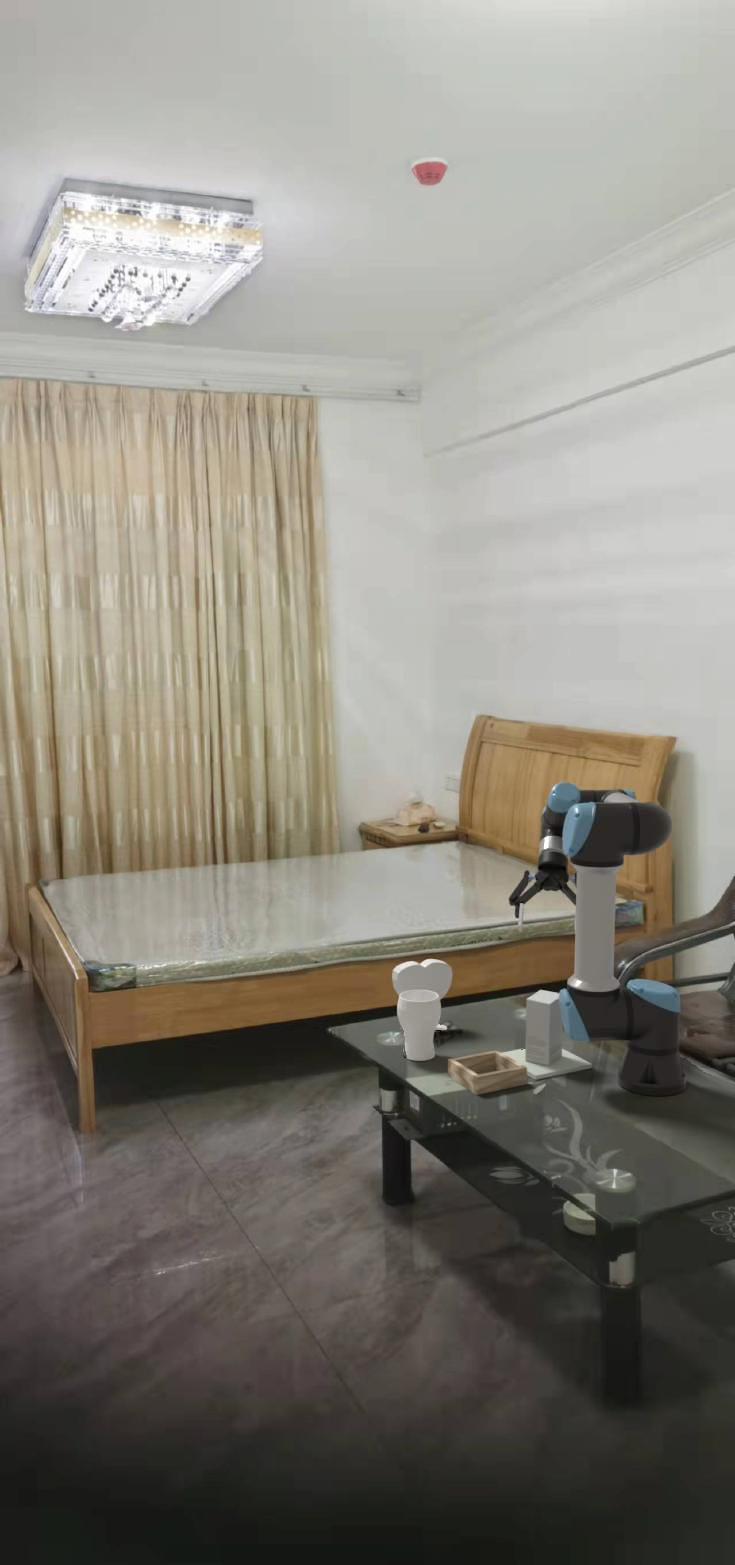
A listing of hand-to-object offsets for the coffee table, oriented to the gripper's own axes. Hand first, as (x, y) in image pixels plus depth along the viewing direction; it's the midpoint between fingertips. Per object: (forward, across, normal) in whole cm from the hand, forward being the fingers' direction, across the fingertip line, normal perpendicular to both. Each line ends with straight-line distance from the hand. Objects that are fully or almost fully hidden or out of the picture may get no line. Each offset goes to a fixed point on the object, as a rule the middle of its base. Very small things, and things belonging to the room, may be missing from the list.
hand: (547, 930), depth 286 cm
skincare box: (+28, 0, -13) cm, 31 cm away
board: (+28, 0, -14) cm, 31 cm away
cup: (+30, +30, -13) cm, 44 cm away
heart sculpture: (+16, +32, -26) cm, 45 cm away
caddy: (+38, +12, -4) cm, 40 cm away
